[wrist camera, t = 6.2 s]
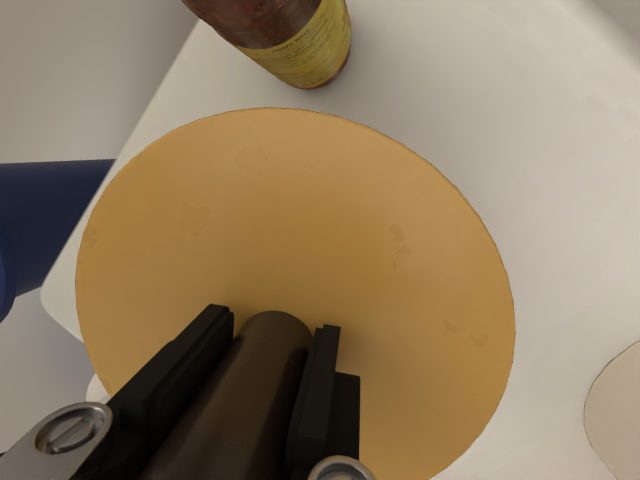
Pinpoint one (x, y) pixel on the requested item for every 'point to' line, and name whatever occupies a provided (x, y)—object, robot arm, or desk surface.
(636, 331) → the desk surface
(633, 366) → the cylinder
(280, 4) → the sauce bottle
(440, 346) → the tan wooden disc
